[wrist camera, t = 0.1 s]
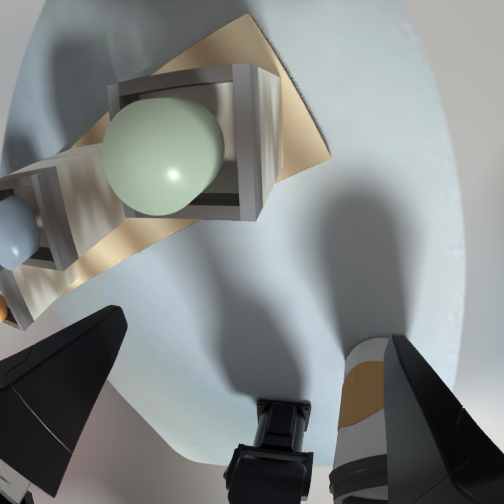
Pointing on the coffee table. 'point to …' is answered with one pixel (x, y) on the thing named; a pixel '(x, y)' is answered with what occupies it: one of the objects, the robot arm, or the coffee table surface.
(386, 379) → the robot arm
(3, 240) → the slate button
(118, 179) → the sage button
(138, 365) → the coffee table surface
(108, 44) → the coffee table surface
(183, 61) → the button board
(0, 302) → the orange button
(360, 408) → the coffee cup
